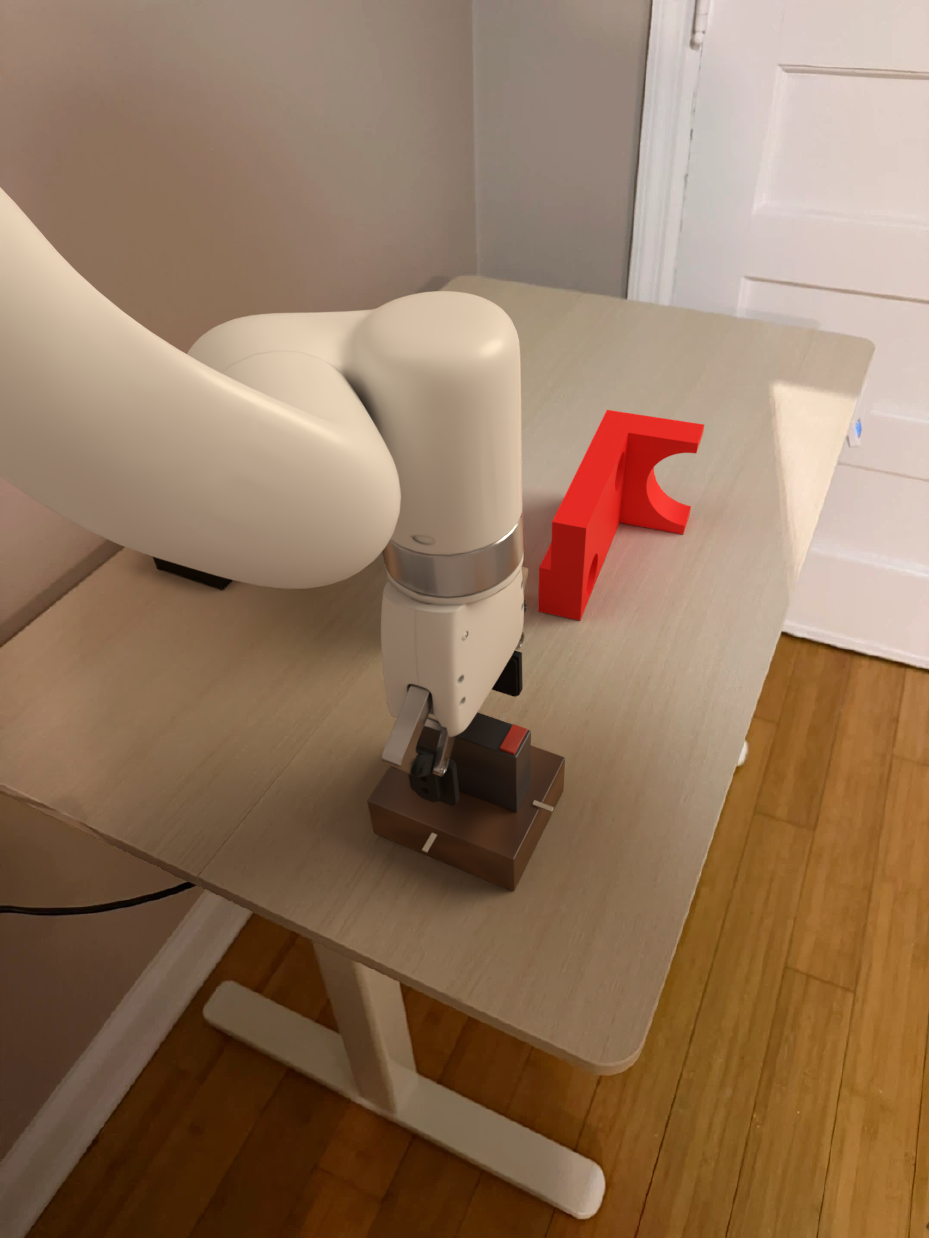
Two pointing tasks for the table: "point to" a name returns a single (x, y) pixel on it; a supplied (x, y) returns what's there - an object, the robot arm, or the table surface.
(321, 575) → the robot arm
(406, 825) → the base
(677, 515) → the bracket
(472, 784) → the dark grey block
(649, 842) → the table surface
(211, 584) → the button box
